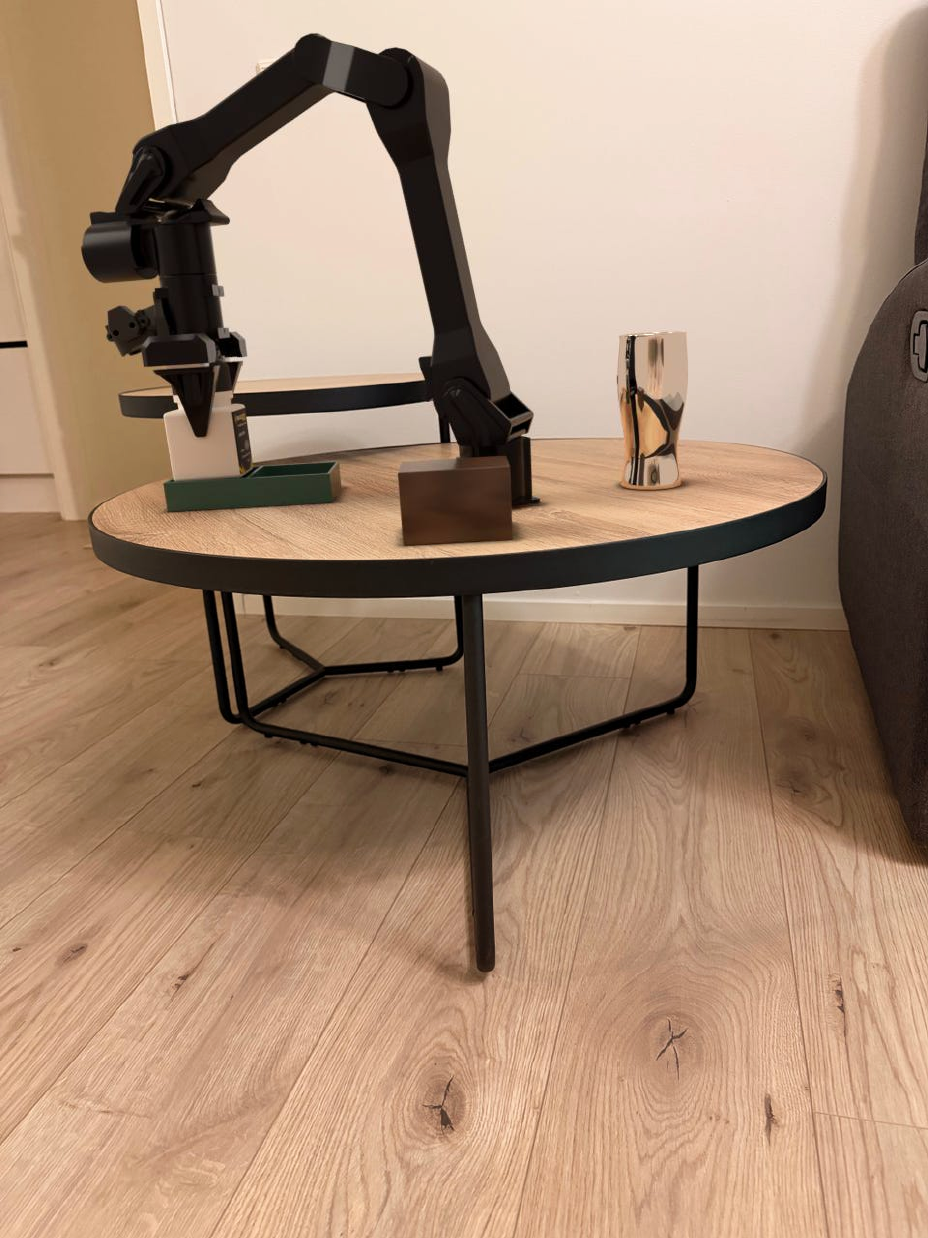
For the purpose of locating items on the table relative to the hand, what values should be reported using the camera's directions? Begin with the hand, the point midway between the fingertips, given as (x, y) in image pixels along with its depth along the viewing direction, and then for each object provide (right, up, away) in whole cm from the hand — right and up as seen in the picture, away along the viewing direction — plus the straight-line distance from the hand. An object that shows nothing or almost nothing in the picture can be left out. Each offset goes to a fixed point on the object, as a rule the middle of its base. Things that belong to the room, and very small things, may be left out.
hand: (210, 432), depth 98 cm
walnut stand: (+27, -13, -20) cm, 35 cm away
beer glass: (+46, -6, -3) cm, 47 cm away
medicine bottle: (0, -5, +1) cm, 5 cm away
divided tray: (+5, -7, +2) cm, 9 cm away
